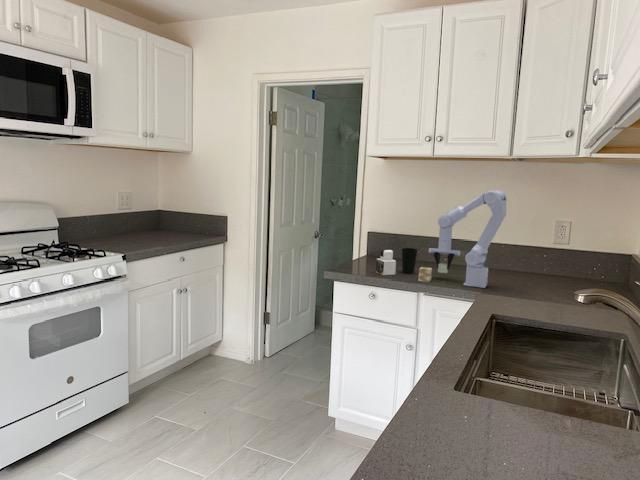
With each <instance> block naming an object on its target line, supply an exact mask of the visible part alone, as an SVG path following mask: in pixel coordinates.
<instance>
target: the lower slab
mask: <svg viewBox="0 0 640 480" xmlns="http://www.w3.org/2000/svg"><path fill="white" fill-rule="evenodd" d="M417 277H418V278H417V279H418V282H425V283H430V282H431V281H432V277H433V275H431V276H423V275H419V274H418V276H417Z"/></svg>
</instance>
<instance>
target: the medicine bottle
mask: <svg viewBox="0 0 640 480" xmlns="http://www.w3.org/2000/svg"><path fill="white" fill-rule="evenodd" d="M393 256H394V251H393V250H392V249H387V248H384V249H380V255H379V257H380V258H376V264H375V265H376V266H375V267H376V268H375V273H376V274H379V275H381V276H390V275H391V276H394V275H396V269H397V268H396V267H397V261H396V260H395V259H393Z"/></svg>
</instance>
